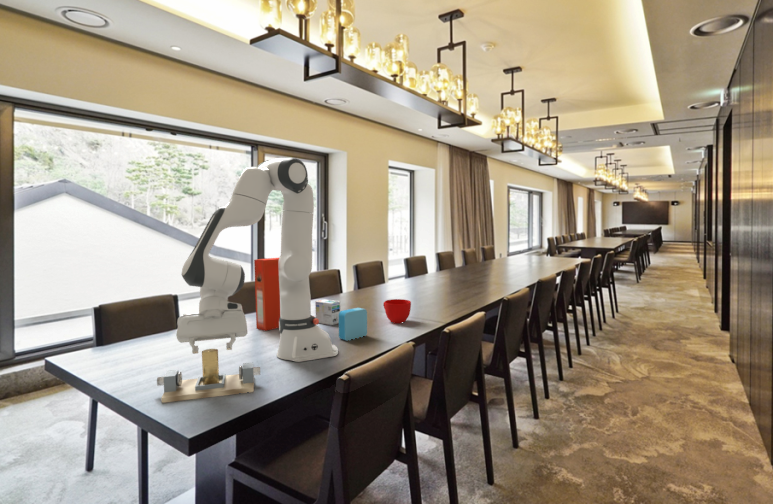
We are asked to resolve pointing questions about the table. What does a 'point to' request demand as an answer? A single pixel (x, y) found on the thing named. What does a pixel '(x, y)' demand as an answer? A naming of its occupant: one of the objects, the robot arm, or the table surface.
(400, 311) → the ceramic cup
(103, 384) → the table surface
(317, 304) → the light bulb box
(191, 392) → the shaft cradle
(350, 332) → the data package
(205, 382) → the cylinder
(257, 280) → the file binder
